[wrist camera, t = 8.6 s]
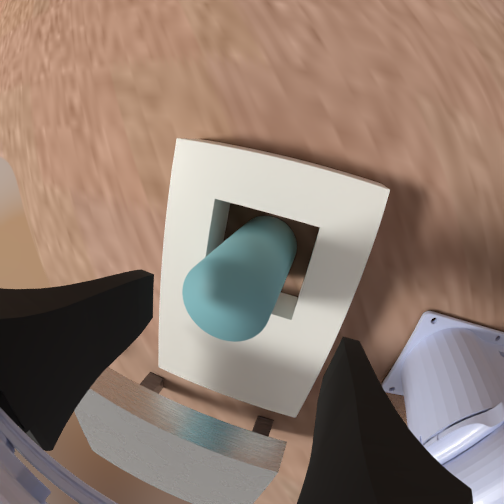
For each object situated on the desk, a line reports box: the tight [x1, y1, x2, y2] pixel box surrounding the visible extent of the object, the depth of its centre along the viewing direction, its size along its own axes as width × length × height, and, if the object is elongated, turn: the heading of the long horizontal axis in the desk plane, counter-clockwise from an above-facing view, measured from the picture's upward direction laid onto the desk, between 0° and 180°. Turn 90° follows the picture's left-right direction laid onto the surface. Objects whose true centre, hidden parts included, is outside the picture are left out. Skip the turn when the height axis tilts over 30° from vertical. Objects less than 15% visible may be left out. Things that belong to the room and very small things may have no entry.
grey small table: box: [74, 367, 287, 504], centre depth 20 cm, size 14×12×11 cm
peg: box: [182, 216, 297, 342], centre depth 16 cm, size 4×4×8 cm
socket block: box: [159, 138, 390, 418], centre depth 19 cm, size 12×18×3 cm, turn 168°
